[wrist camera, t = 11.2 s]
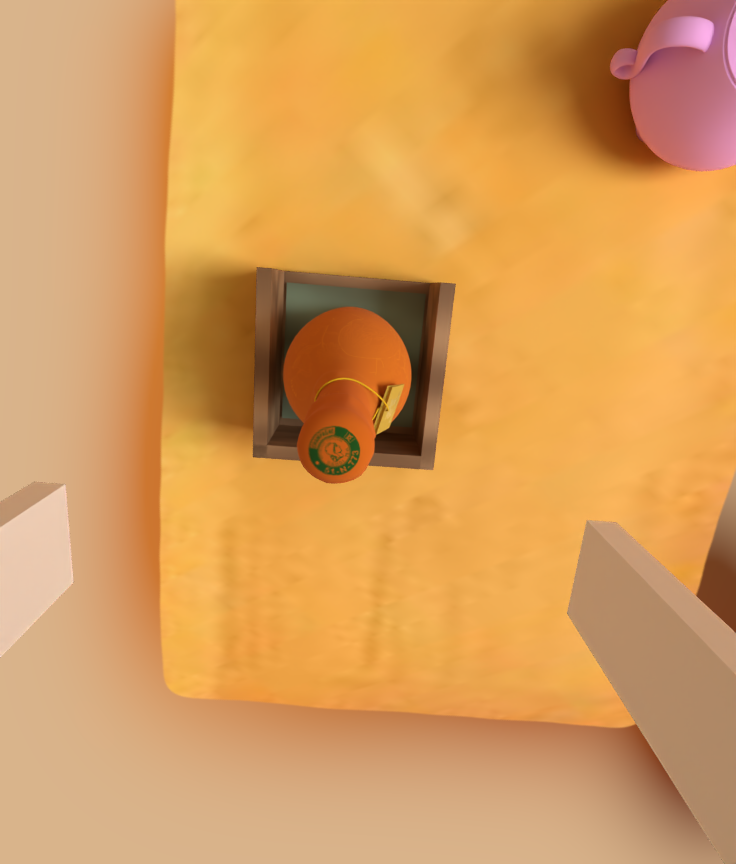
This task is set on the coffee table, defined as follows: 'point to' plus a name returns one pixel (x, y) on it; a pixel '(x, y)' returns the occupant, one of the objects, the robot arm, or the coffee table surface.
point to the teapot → (685, 83)
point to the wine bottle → (344, 389)
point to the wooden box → (390, 299)
